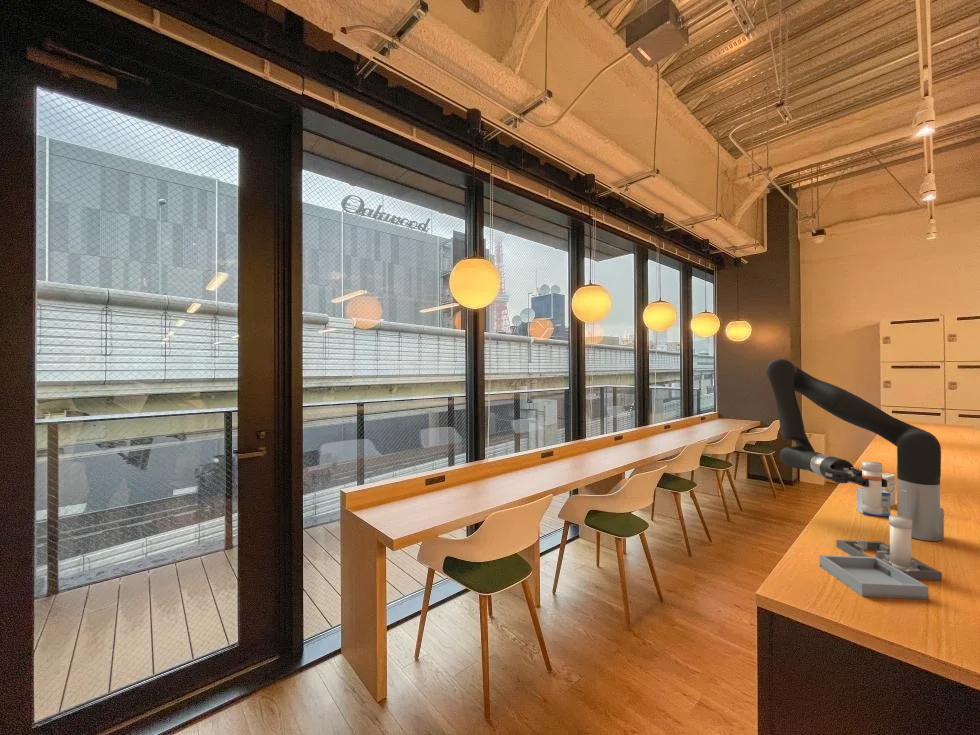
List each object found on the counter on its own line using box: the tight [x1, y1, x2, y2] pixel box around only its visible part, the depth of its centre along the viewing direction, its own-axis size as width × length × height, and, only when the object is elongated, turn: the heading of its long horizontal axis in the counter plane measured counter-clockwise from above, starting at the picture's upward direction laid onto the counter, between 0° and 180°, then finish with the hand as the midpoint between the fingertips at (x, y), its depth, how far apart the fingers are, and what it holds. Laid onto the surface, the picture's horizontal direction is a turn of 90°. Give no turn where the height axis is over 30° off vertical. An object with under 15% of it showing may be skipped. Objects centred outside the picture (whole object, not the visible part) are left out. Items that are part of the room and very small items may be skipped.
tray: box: [819, 554, 929, 600], centre depth 100 cm, size 14×14×3 cm
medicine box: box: [856, 487, 891, 518], centre depth 143 cm, size 8×4×9 cm, turn 68°
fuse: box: [888, 514, 913, 569], centre depth 104 cm, size 4×4×14 cm
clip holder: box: [835, 539, 943, 581], centre depth 109 cm, size 12×18×2 cm
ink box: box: [882, 471, 896, 508], centre depth 152 cm, size 9×5×15 cm, turn 117°
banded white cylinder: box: [861, 460, 883, 515], centre depth 113 cm, size 4×4×14 cm
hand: (876, 483), depth 112 cm, fingers closed on banded white cylinder, 4 cm apart
